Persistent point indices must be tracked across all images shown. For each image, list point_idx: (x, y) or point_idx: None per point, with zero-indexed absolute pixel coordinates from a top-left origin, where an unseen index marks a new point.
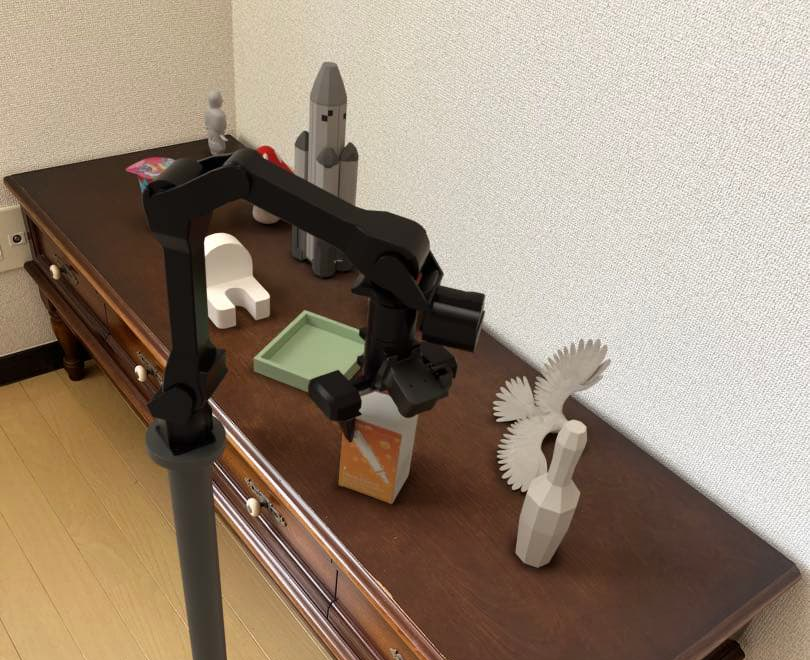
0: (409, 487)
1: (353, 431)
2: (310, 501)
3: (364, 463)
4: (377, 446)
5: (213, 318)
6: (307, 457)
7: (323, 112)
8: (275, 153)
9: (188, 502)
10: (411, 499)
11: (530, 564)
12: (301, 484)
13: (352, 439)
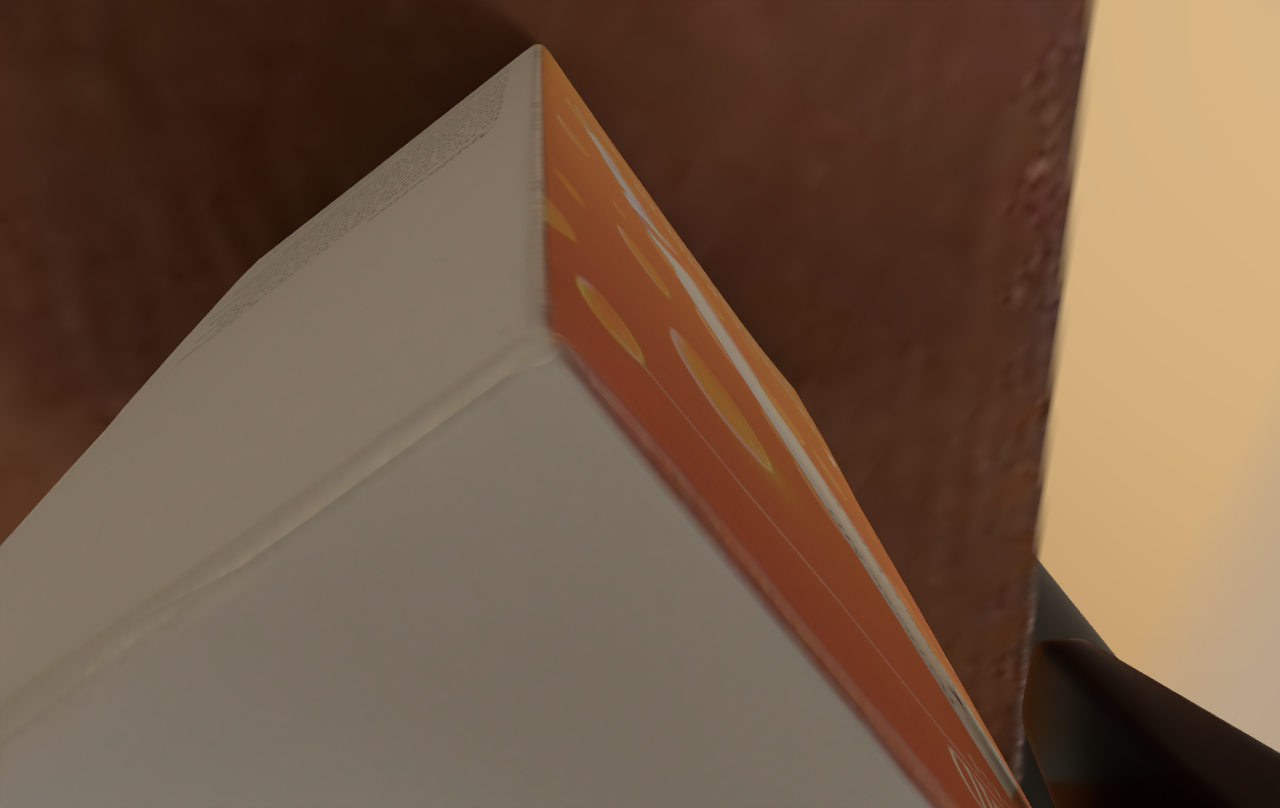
0: (301, 151)
1: (1252, 803)
2: (1033, 345)
3: (771, 390)
4: (770, 452)
5: None
6: None
7: None
8: None
9: (1091, 634)
10: (347, 18)
11: None
12: (985, 493)
13: (1092, 670)
